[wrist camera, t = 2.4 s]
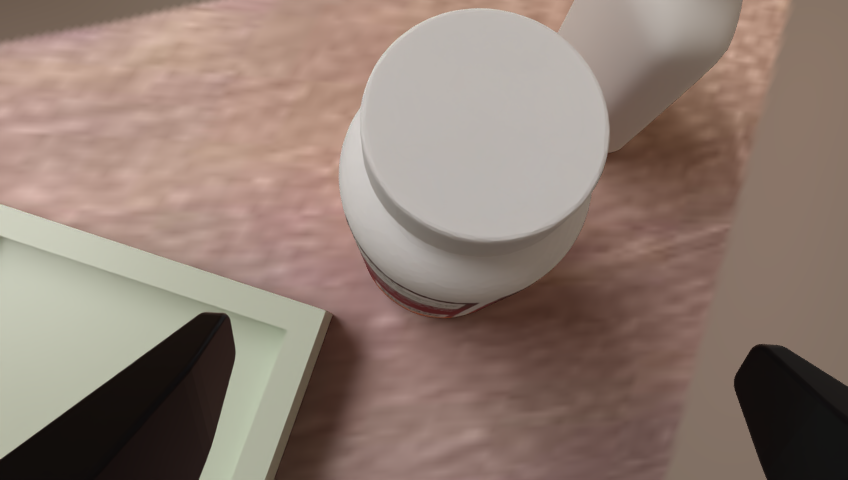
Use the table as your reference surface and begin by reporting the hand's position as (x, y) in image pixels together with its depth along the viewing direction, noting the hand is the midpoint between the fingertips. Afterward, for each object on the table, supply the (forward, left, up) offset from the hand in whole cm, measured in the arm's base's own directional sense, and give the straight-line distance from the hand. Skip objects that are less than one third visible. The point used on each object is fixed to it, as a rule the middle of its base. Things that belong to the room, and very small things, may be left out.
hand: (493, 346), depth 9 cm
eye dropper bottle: (+12, -3, -11) cm, 16 cm away
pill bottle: (+4, +1, -11) cm, 12 cm away
